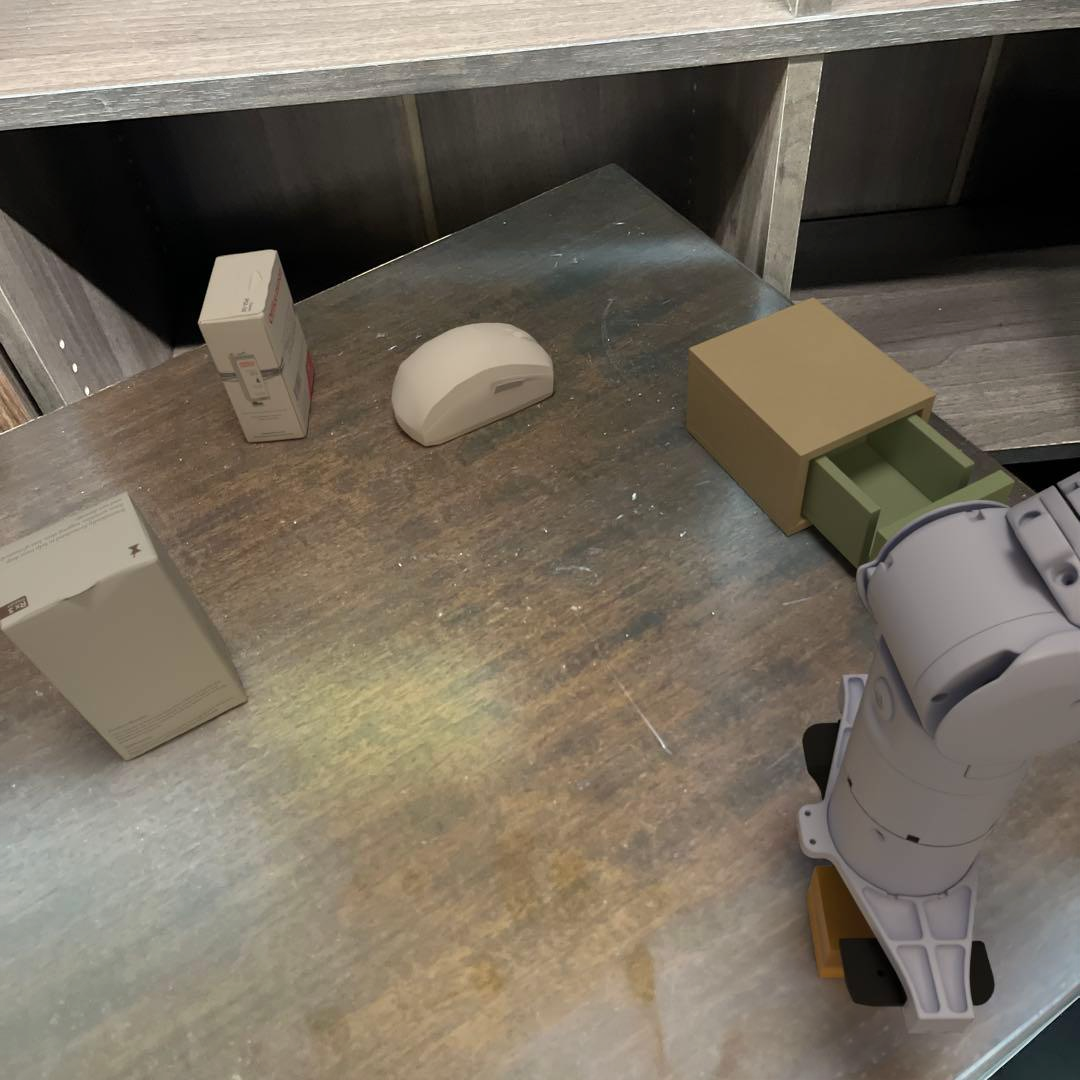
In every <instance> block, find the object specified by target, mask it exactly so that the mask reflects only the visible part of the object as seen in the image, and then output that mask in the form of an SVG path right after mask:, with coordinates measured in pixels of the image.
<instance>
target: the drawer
mask: <svg viewBox="0 0 1080 1080" xmlns="http://www.w3.org/2000/svg"><path fill="white" fill-rule="evenodd" d="M975 464H976V463H975V462H974V460H972V459H971V458H970V457H969V456H967V455H966V454H965V453H963V451H961V450H960V449H959V448H958V447H956V446H955V445H954V444H953V443H952V442H950V441H949V440H948V439H947V438H946V437H944V436H943V435H942V434H940V433H939V432H938V431H937V429H935V428H933V426H931V425H930V424H929V423H928V424H927V423H926V422H925V421H924V420H922V419H921V418H920V417H919V416H918V415H916V414H915V413H912V414H909V415H907V416H905V417H903V418H901V419H898V420H896V421H894V422H892V423H890V424H888V425H885V426H883V427H881V428H879V429H877V430H874V431H872V432H870V433H868V434H866V435H863V436H861V437H859V438H857V439H855V440H853V441H850V442H848V443H846V444H844V445H842V446H839V447H837V448H835V449H833V450H831V451H829V452H826V453H824V454H822V455H820V456H818V457H815V458H813V459H811V460H809V466H808V472H807V478H806V484H805V489H804V495H803V501H802V507H801V512H802V513H803V514H804V515H805V517H806V518H807V519H808V520H809V521H810V522H811V523H812V524H813V525H812V526H815V528H816V529H817V530H818V531H819V532H820V533H821V534H822V535H823V536H824V537H825V538H826V539H827V540H828V541H829V542H830V543H831V544H832V545H833V546H834V547H835V548H836V549H837V550H838V551H839V553H840V554H842V555H843V557H844V558H846V560H848V562H850V564H852V566H853V567H854V568H855V569H858V568H859V567H860V566H861V565H864V564H866V563H869V562H872V561H873V560H874V559H876V557H877V556H878V554H879V552H880V550H881V549H882V547H883V546H884V545H885V543H886V542H887V541H888V540H889V539H890V538H891V537H892V536H893V535H894V534H895V533H896V532H897V531H898V530H900V529H901V528H902V527H904V526H905V525H906V524H908V523H909V522H911V521H913V520H914V519H916V518H918V517H919V516H921V515H923V514H925V513H927V512H930V511H932V510H934V509H937V508H940V507H943V506H946V505H949V504H953V503H958V502H967V501H971V500H988V501H995V502H999V503H1002V504H1005V505H1007V504H1008V501H1009V498H1010V496H1011V494H1012V490H1013V488H1014V485H1015V483H1016V480H1014V479H1013V478H1012V477H1011V476H1010V475H1009V474H1008V473H1006V472H1005V471H1004V470H1002V469H999V470H997V471H995V472H993V473H990V474H989V475H987V476H984V477H983V478H980V479H978V480H976V481H975V482H972V483H970V484H969V482H970V478H971V476H972V472H973V471H974V470H973V469H974V467H975Z"/></svg>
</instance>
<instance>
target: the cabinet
mask: <svg viewBox="0 0 1080 1080" xmlns="http://www.w3.org/2000/svg"><path fill="white" fill-rule="evenodd" d="M687 355H688V358H687V359H688V360H687V361H688V362H687V385H686V412H685V413H686V415H685V421H686V422H685V429H686V431H687V432H688V433H689V434H690V435H691V436H692V437H693V438H694V439H695V440H696V441H697V442H698V443H699V445H701V446H702V447H703V449H704V450H706V452H707V453H708V454H709V455H710V456H711V457H712V458H713V459H714V460H715V461H716V462H717V463H718V464H719V465H720V466H721V468H722V469H723V470H724V471H725V472H726V473H727V474H728V475H729V476H730V477H731V478H732V480H734V481H735V482H736V483H737V485H738V486H740V488H741V489H742V490H743V491H744V492H745V493H746V494H747V495H748V496H749V497H750V498H751V499H752V500H753V501H754V502H755V503H756V505H757V506H758V507H759V508H760V509H761V510H762V511H763V512H764V513H765V514H766V515H767V516H768V517H769V518H770V520H772V521H773V523H774V524H776V526H778V528H779V529H780V530H781V531H782V532H783V534H784V535H786V536H787V537H790V536H792V535H794V534H796V533H798V532H800V531H803V530H805V529H807V528H808V527H811V526H814V525H813V524H812V523H811V522H810V521H809V520H808V519H807V518H806V517H805V515H804V514H803V513H802V512H801V507H802V501H803V495H804V489H805V484H806V478H807V472H808V466H809V460H811V459H813V458H815V457H818V456H820V455H822V454H824V453H826V452H829V451H831V450H833V449H835V448H837V447H839V446H842V445H844V444H846V443H848V442H850V441H853V440H855V439H857V438H859V437H861V436H863V435H866V434H868V433H870V432H872V431H874V430H877V429H879V428H881V427H883V426H885V425H888V424H890V423H892V422H894V421H896V420H898V419H901V418H903V417H905V416H907V415H909V414H912V413H915V414H916V415H918V416H919V417H920V418H921V419H922V420H924V421H925V422H926V423H927V424H928V425H929V422H930V419H931V418H930V417H931V413H932V412H933V407H934V403H935V400H936V396H937V393H935V392H934V391H933V390H931V388H929V387H928V386H927V385H925V384H924V383H923V382H921V380H919V379H918V378H916V377H915V376H914V375H913V374H912V373H910V372H909V371H907V369H905V368H904V367H903V366H901V365H900V364H899V363H897V362H896V360H894V359H892V358H891V357H890V356H888V354H886V353H885V352H884V351H883V350H881V349H880V348H878V347H877V346H876V345H875V344H874V343H872V342H871V341H869V340H868V339H867V338H866V337H865V336H864V335H862V334H861V333H860V332H858V331H857V330H856V329H855V328H854V327H852V326H851V325H850V324H848V323H847V322H846V321H844V320H843V319H842V318H840V316H838V315H837V314H836V313H835V312H833V311H832V310H831V309H830V308H828V307H827V306H825V304H823V303H822V302H820V301H819V300H818V299H817V298H815V297H814V296H812V297H810V298H808V299H805V300H803V301H800V302H798V303H796V304H793V305H791V306H788V307H786V308H784V309H781V310H778V311H776V312H774V313H771V314H769V315H766V316H763V317H761V318H758V319H756V320H754V321H751V322H749V323H747V324H744V325H742V326H740V327H737V328H734V329H732V330H730V331H727V332H725V333H723V334H722V333H721V334H720V335H718V336H715V337H713V338H710V339H708V340H705V341H703V342H700V343H698V344H696V345H695V344H694V345H693V346H690V347H689V348H688V354H687Z"/></svg>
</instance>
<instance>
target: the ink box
mask: <svg viewBox="0 0 1080 1080" xmlns="http://www.w3.org/2000/svg"><path fill="white" fill-rule="evenodd" d="M201 307H202V308H201V311H200V315H199V317H198V321H197V325H198V327H199V330H200V332H201V334H202V337H203V339H204V341H205V344H206V347H207V349H208V351H209V354H210V356H211V359H212V361H213V364H214V365H215V368H216V370H217V372H218V375H219V377H220V379H221V382H222V384H223V386H224V389H225V391H226V394H227V396H228V398H229V401H230V403H231V405H232V408H233V411H234V413H235V415H236V417H237V420H238V422H239V425H240V428H241V430H242V432H243V434H244V437H245V439H246V442H248V443H258V442H272V441H283V440H284V441H285V440H292V439H301V438H302V439H303V438H305V437H306V436H307V432H308V425H309V417H310V408H311V400H312V393H313V385H314V378H315V366H314V363H313V360H312V357H311V353H310V351H309V348H308V344H307V341H306V338H305V334H304V332H303V329H302V326H301V322H300V320H299V316H298V313H297V310H296V307H295V304H294V300H293V298H292V294H291V291H290V287H289V285H288V281H287V278H286V276H285V272H284V269H283V266H282V263H281V260H280V256H279V253H278V251H277V250H276V249H275V250H274V249H264V250H257V251H249V252H244V253H243V252H241V253H233V254H227V255H220V256H217V257H216V258H215V261H214V265H213V268H212V272H211V275H210V278H209V281H208V286H207V290H206V293H205V297H204V300H203V304H202V306H201Z"/></svg>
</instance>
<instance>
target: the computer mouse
mask: <svg viewBox="0 0 1080 1080" xmlns="http://www.w3.org/2000/svg"><path fill="white" fill-rule="evenodd" d="M554 377H555V375H554V364H553V359H552V357H551V356H550V355H549V353H548V352H547V351H546V350H545V349H544V348H543V347H542V345H540V344H539V343H538V341H537V340H536V339H535V338H534V337H533V336H532V335H530V333H528V332H527V331H525V330H523V329H521V328H519V327H516V326H514V325H512V324H510V323H503V322H480V323H471V324H466V325H460V326H457V327H455V328H451V329H449V330H447V331H445V332H443V333H441V334H439V335H437V336H436V337H433V338H432V339H430V340H428V341H426V342H424V343H423V344H422V345H420V346H419V347H418V348H417V349H415V351H414V352H412V353H411V354H410V355H409V356H408V357H406V358H405V359H404V360H403V361H402V362H401V363H400V364H399V367H398V370H397V372H396V374H395V377H394V381H393V384H392V390H391V398H390V399H391V400H390V401H391V406H392V409H393V412H394V417H395V420H396V423H397V424H398V425H399V427H400V429H401V430H402V431H403V432H404V433H405V434H407V435H408V436H409V437H410V438H411V439H412V440H414V441H416V442H418V443H419V444H421V445H423V446H424V447H430V446H436V445H442V444H444V443H446V442H449V441H451V440H453V439H456V438H458V437H460V436H463V435H465V434H468V433H470V432H473V431H475V430H478V429H481V428H483V427H484V426H486V425H489V424H491V423H494V422H497V421H498V420H501V419H503V418H506V417H507V416H510V415H513V414H515V413H518V412H520V411H522V410H524V409H526V408H529V407H530V406H532V405H535V404H537V403H539V402H541V401H544V400H545V399H547V398H549V397H551V396H553V393H554Z"/></svg>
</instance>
